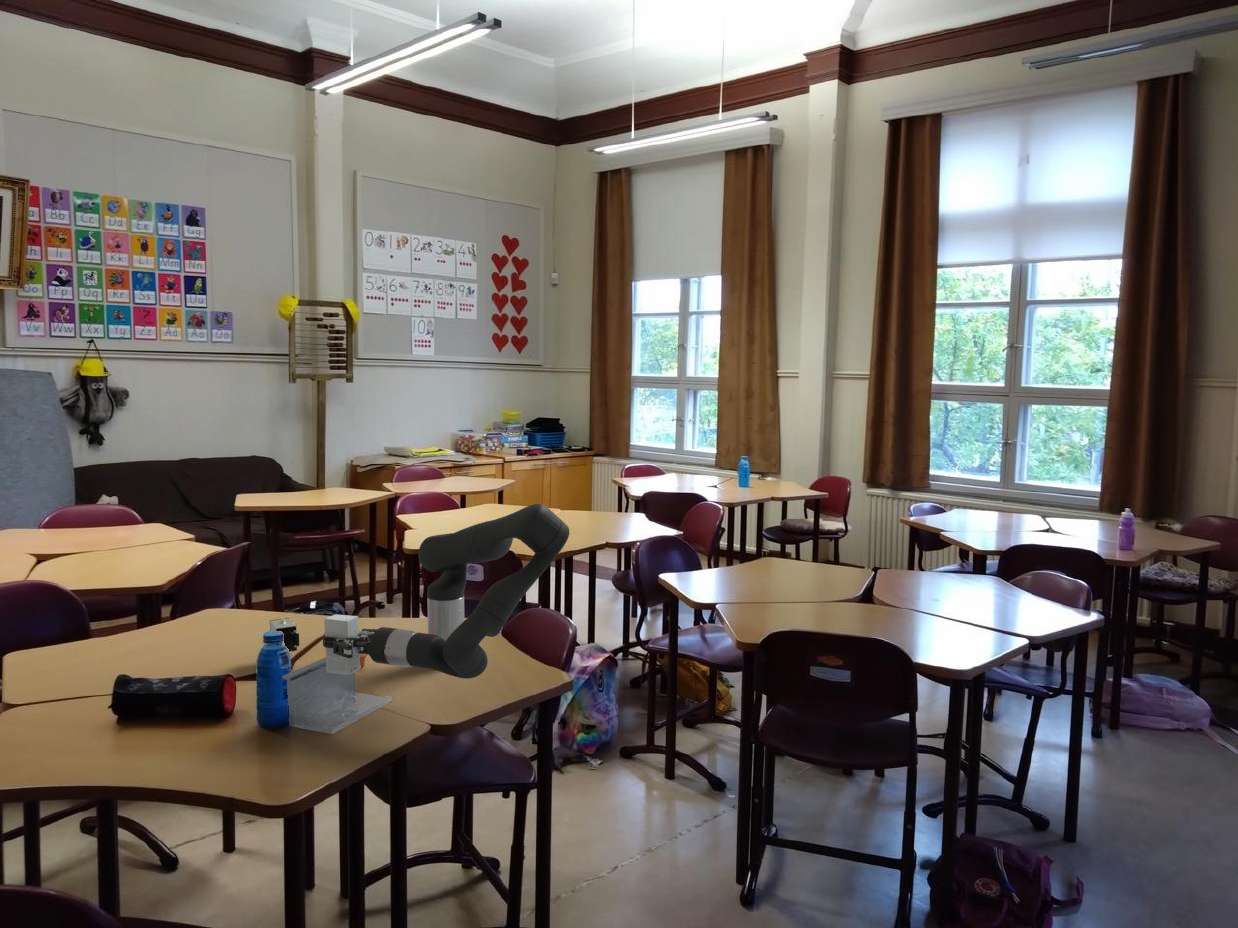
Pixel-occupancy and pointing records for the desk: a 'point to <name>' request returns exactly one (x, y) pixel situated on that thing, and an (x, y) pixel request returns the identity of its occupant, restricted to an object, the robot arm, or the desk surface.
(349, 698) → the bracket
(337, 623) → the skincare box
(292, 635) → the pneumatic valve
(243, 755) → the desk surface
